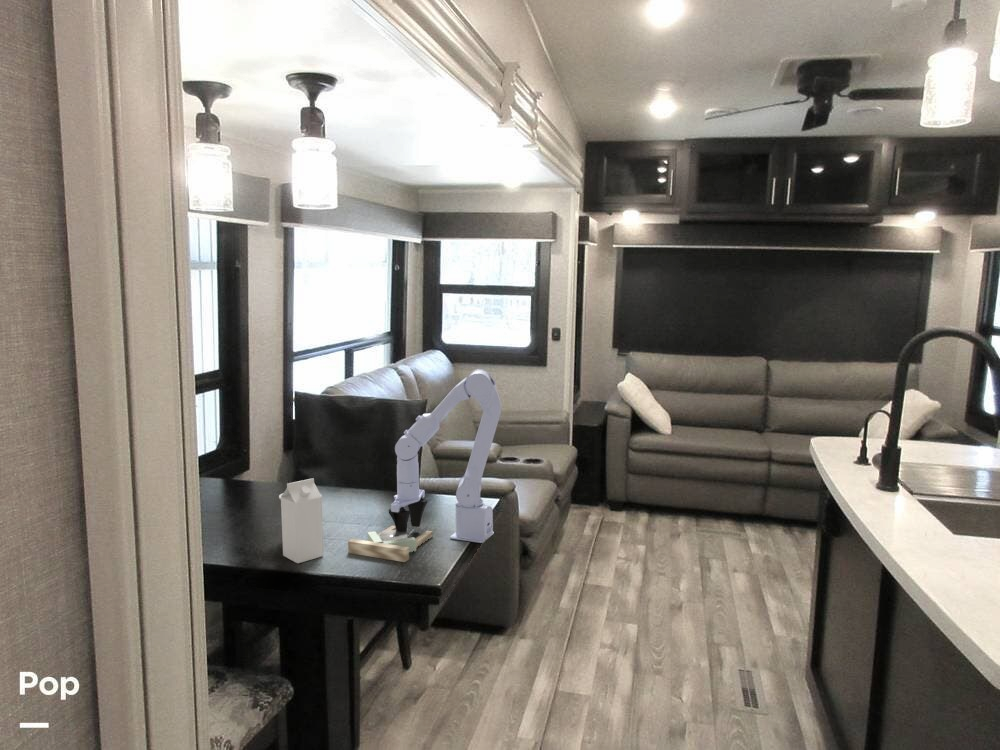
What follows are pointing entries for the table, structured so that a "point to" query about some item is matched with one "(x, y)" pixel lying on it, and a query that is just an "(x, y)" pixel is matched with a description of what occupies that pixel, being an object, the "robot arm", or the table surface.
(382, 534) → the aluminium cover
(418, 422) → the robot arm
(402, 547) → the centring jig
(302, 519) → the milk carton
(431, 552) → the table surface
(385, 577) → the table surface
